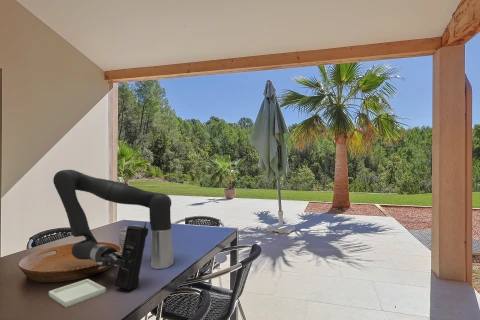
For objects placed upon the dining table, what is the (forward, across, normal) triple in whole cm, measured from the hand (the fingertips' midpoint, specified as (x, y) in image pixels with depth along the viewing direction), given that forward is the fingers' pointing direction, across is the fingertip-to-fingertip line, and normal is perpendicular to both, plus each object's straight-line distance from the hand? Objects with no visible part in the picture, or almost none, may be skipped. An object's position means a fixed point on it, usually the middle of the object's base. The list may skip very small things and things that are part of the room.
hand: (126, 263), depth 113 cm
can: (-48, +31, +10) cm, 58 cm away
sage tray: (-12, -13, +10) cm, 20 cm away
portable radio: (-2, 0, +10) cm, 10 cm away
